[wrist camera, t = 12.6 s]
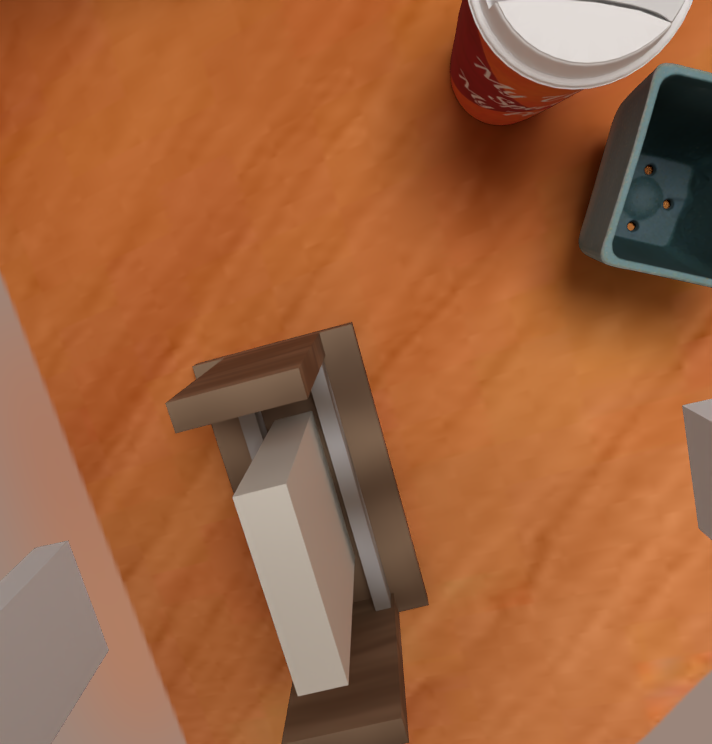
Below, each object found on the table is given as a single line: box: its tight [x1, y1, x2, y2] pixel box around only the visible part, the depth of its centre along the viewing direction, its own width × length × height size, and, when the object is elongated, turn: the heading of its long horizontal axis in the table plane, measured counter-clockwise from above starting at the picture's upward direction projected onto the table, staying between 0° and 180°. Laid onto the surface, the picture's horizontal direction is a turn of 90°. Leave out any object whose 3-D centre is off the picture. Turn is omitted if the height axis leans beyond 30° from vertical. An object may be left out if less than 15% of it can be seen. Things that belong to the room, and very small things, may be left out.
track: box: [165, 322, 429, 744], centre depth 35 cm, size 19×10×12 cm, turn 15°
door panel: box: [233, 411, 355, 696], centre depth 34 cm, size 10×2×12 cm, turn 15°
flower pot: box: [579, 63, 712, 288], centre depth 32 cm, size 9×9×9 cm
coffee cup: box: [450, 0, 693, 125], centre depth 28 cm, size 8×8×15 cm
